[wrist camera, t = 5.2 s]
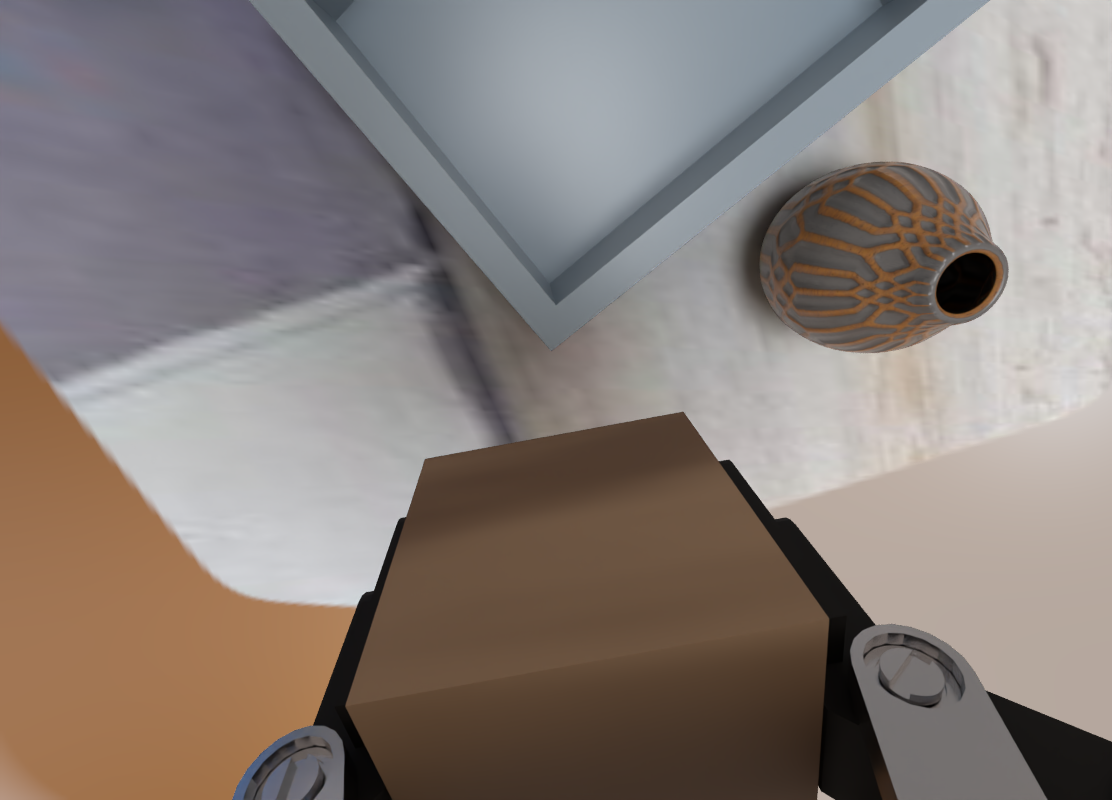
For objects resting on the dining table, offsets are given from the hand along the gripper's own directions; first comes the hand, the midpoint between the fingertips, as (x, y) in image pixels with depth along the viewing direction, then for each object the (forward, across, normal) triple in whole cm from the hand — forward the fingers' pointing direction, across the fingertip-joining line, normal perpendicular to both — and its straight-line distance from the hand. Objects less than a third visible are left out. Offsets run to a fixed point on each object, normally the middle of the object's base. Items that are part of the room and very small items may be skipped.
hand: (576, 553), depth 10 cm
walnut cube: (+1, 0, 0) cm, 1 cm away
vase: (+15, -13, -2) cm, 20 cm away
